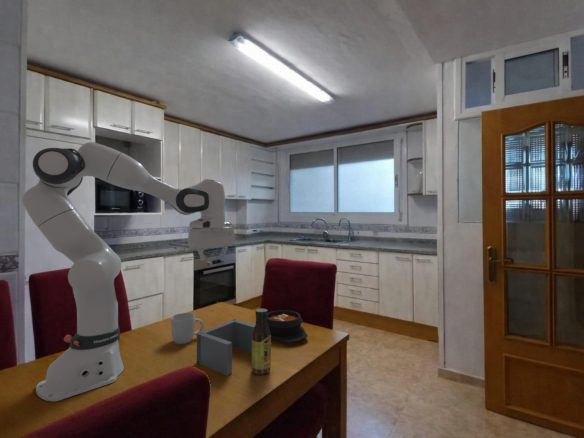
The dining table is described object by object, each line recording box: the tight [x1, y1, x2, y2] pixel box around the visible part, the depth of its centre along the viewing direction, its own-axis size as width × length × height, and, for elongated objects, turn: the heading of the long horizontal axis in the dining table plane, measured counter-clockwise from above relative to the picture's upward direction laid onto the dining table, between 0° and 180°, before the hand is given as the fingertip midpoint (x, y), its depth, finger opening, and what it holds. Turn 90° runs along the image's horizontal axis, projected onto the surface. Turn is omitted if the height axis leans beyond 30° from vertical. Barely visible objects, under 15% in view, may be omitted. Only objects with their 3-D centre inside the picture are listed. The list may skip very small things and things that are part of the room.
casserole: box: [267, 309, 308, 343], centre depth 131 cm, size 25×19×8 cm
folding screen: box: [196, 319, 256, 376], centre depth 110 cm, size 18×15×10 cm
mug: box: [170, 312, 205, 345], centre depth 125 cm, size 13×9×10 cm
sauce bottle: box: [251, 308, 272, 376], centre depth 101 cm, size 7×6×20 cm
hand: (213, 259), depth 118 cm, fingers open, 8 cm apart
